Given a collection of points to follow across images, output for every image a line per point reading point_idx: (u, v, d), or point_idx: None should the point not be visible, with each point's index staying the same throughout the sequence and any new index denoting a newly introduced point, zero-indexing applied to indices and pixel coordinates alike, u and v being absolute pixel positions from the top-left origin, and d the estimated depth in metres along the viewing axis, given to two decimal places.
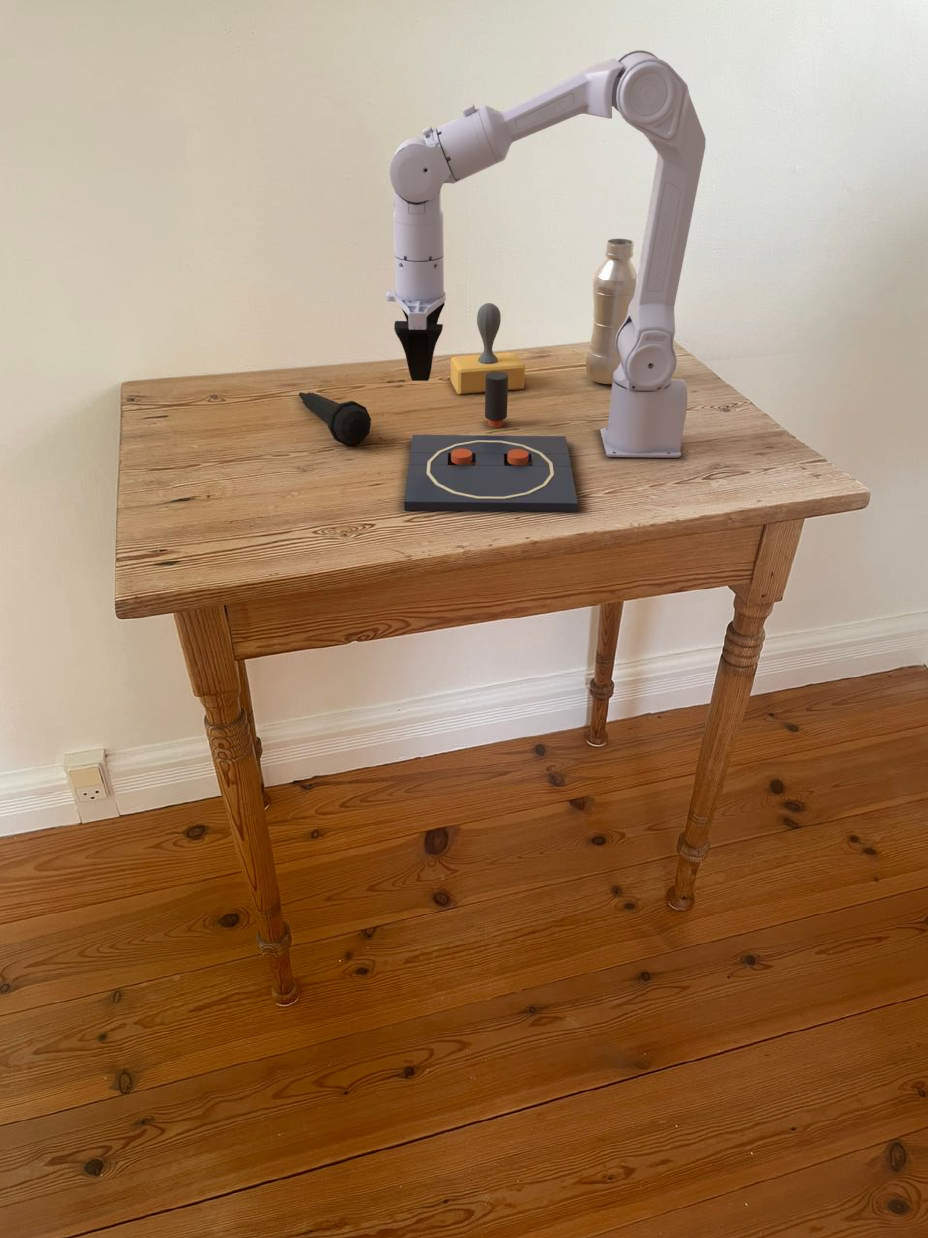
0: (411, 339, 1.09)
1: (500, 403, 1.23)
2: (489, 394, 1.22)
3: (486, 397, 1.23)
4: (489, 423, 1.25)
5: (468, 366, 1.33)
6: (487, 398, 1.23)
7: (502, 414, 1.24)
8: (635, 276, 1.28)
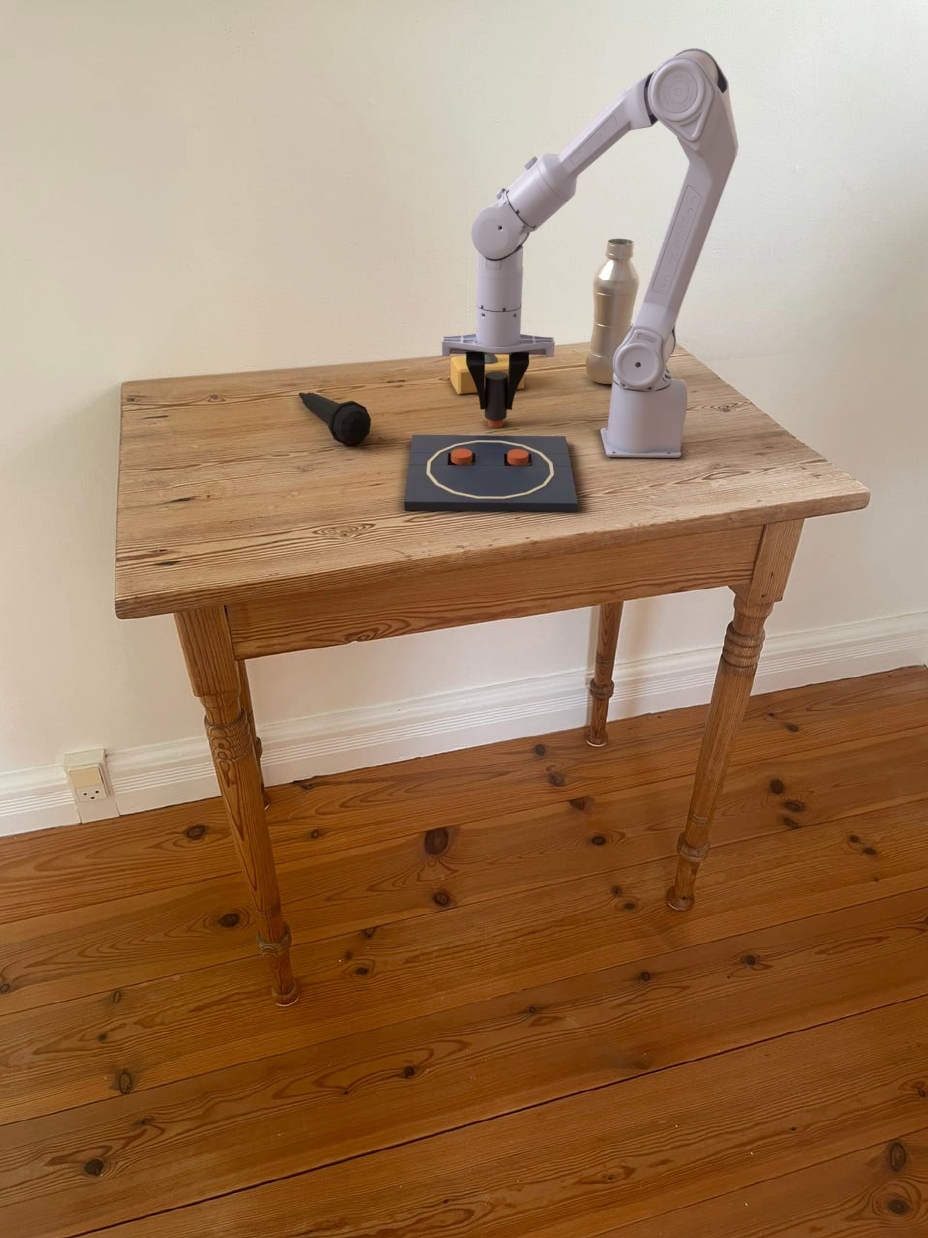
0: None
1: (500, 403, 1.23)
2: (489, 394, 1.22)
3: (486, 397, 1.23)
4: (489, 423, 1.25)
5: None
6: (487, 398, 1.23)
7: (502, 414, 1.24)
8: (635, 276, 1.28)
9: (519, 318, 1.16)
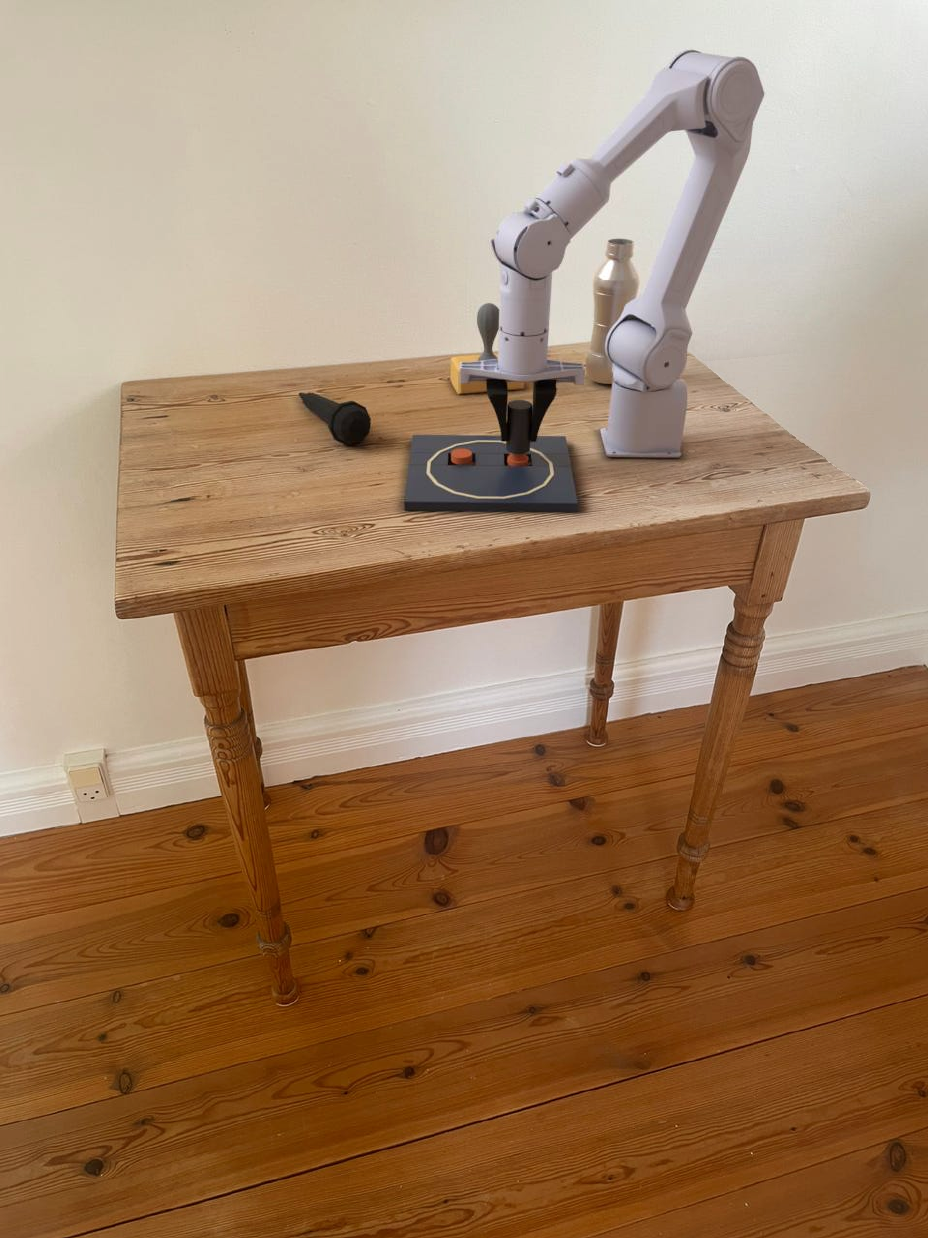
0: None
1: (524, 435, 1.11)
2: (511, 426, 1.11)
3: (508, 428, 1.11)
4: (511, 456, 1.14)
5: None
6: (509, 429, 1.11)
7: (525, 447, 1.12)
8: (635, 276, 1.28)
9: (546, 343, 1.05)
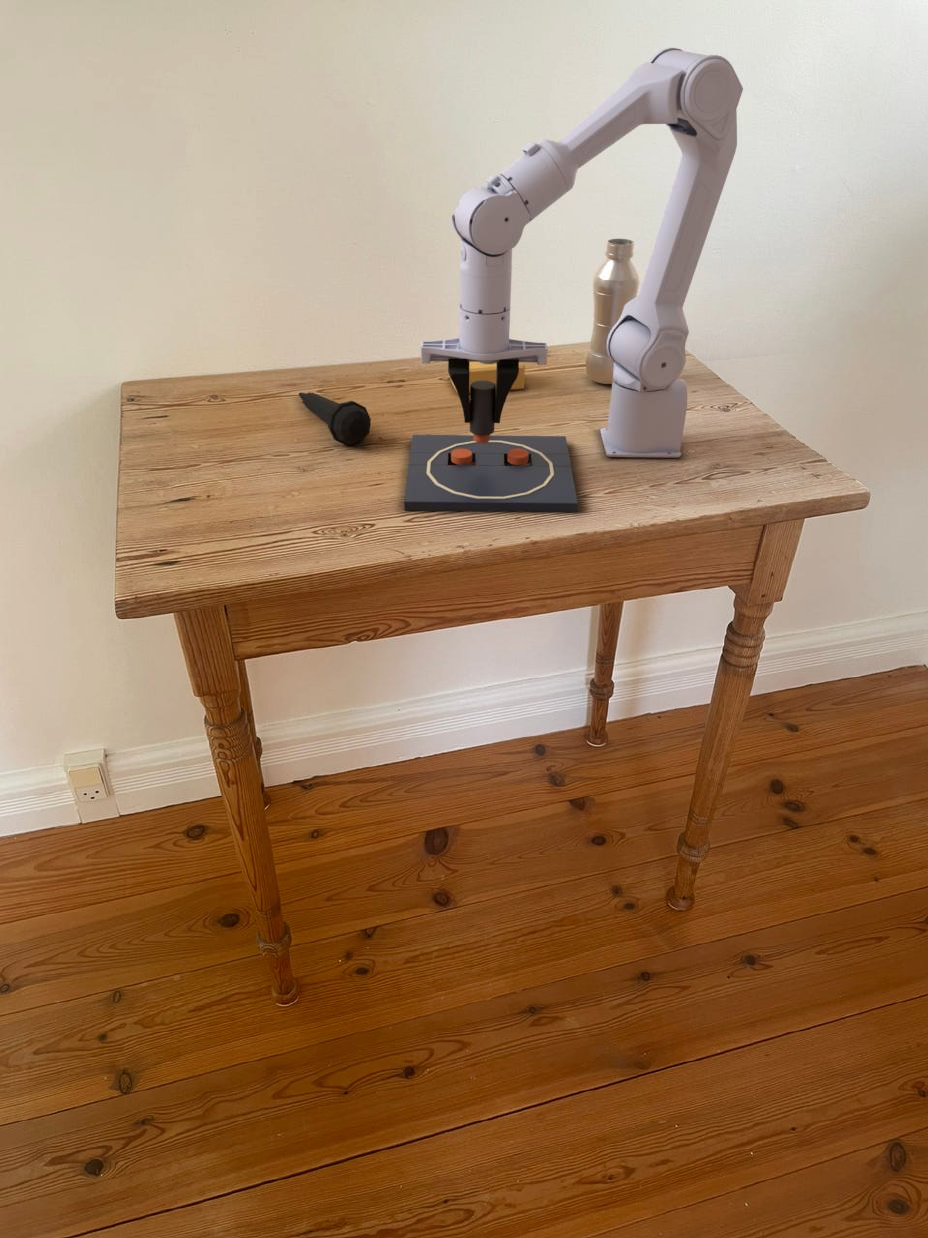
0: None
1: (487, 416, 1.10)
2: (474, 406, 1.09)
3: (471, 409, 1.10)
4: (475, 438, 1.12)
5: None
6: (472, 410, 1.10)
7: (489, 428, 1.11)
8: (635, 276, 1.28)
9: (507, 321, 1.03)
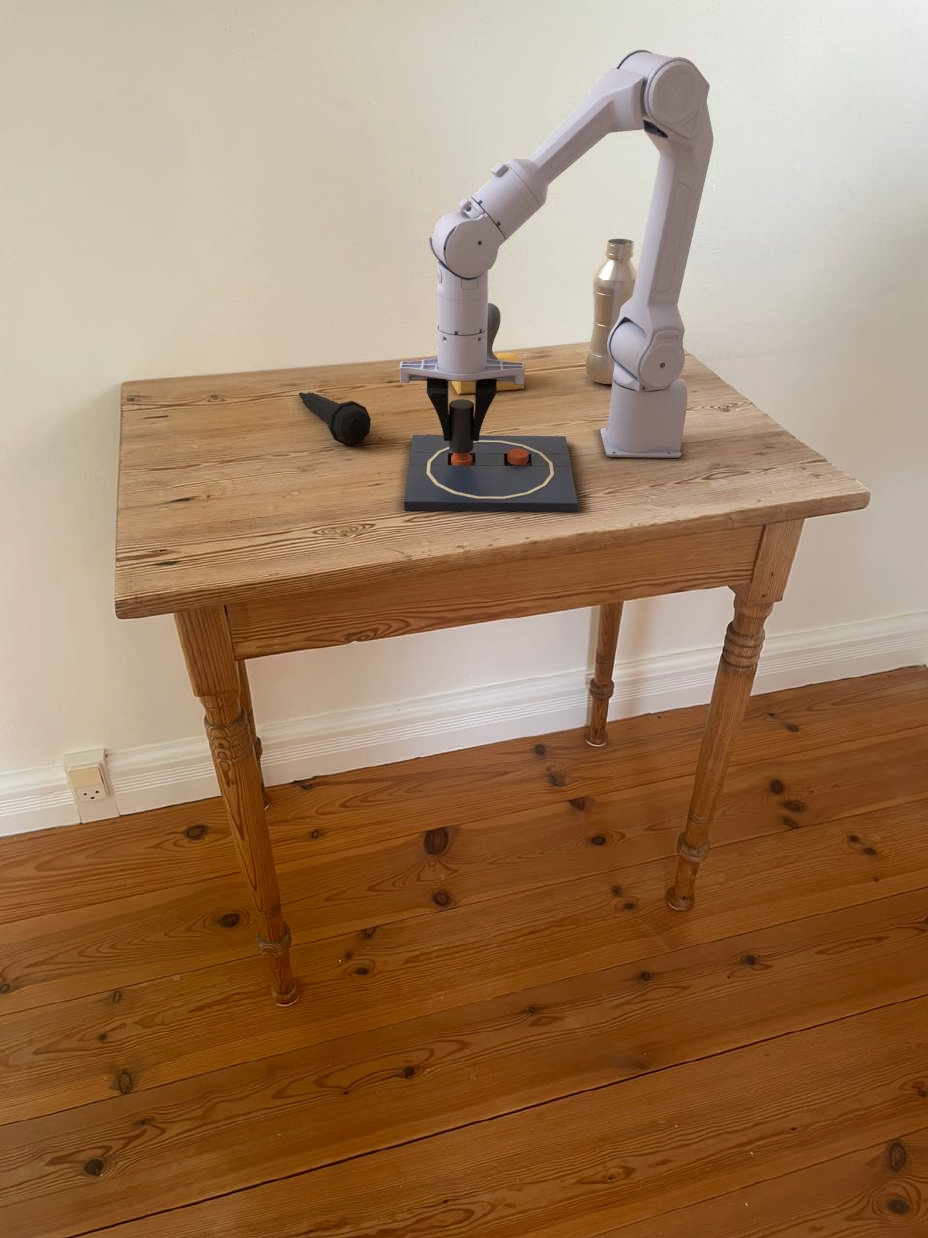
0: None
1: (466, 435, 1.11)
2: (453, 425, 1.11)
3: (450, 428, 1.11)
4: (454, 455, 1.14)
5: None
6: (451, 429, 1.11)
7: (468, 446, 1.12)
8: (635, 276, 1.28)
9: (484, 342, 1.05)
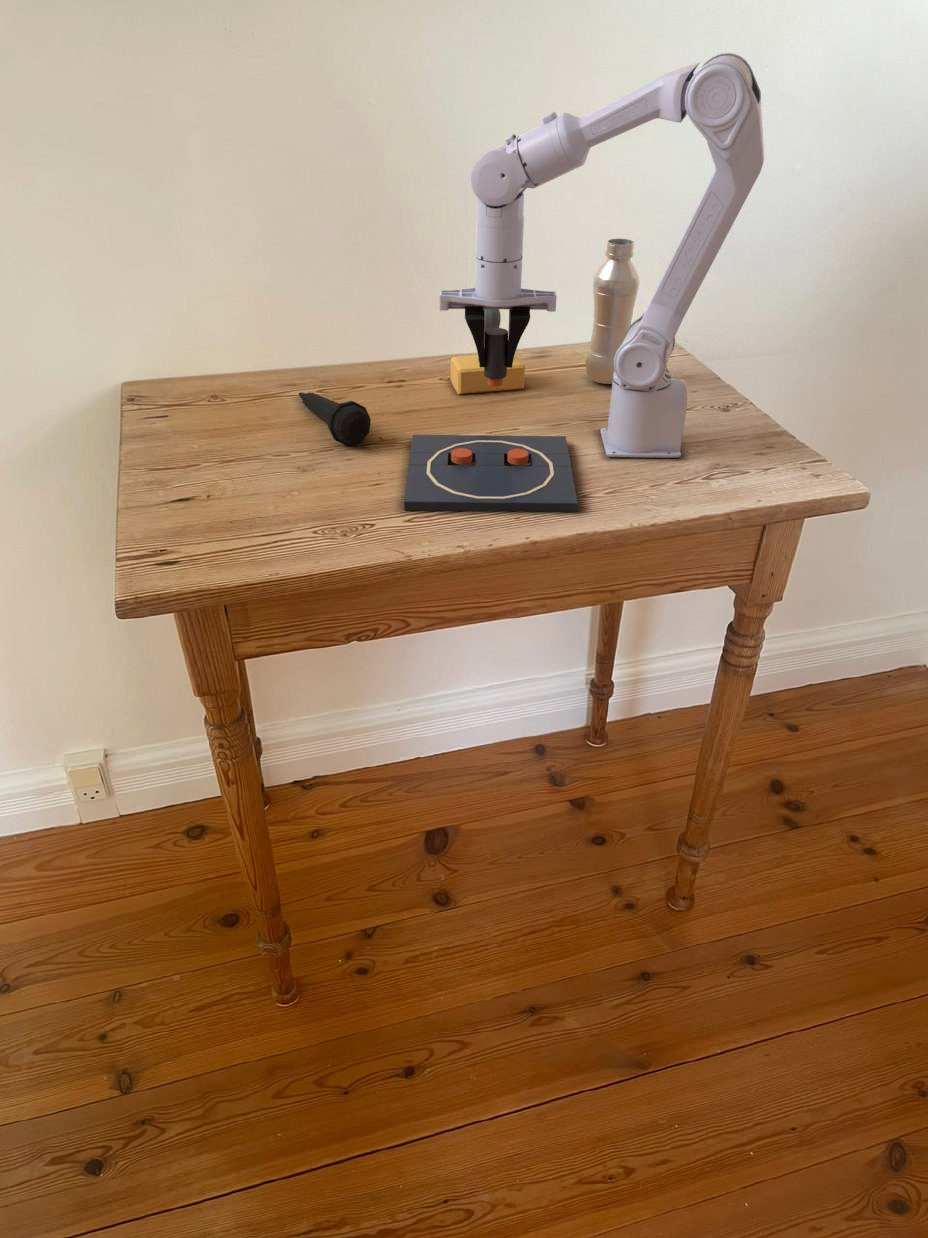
0: None
1: (500, 361, 1.19)
2: (488, 351, 1.18)
3: (485, 354, 1.19)
4: (489, 382, 1.21)
5: (468, 366, 1.33)
6: (486, 355, 1.19)
7: (502, 372, 1.20)
8: (635, 276, 1.28)
9: (520, 270, 1.12)
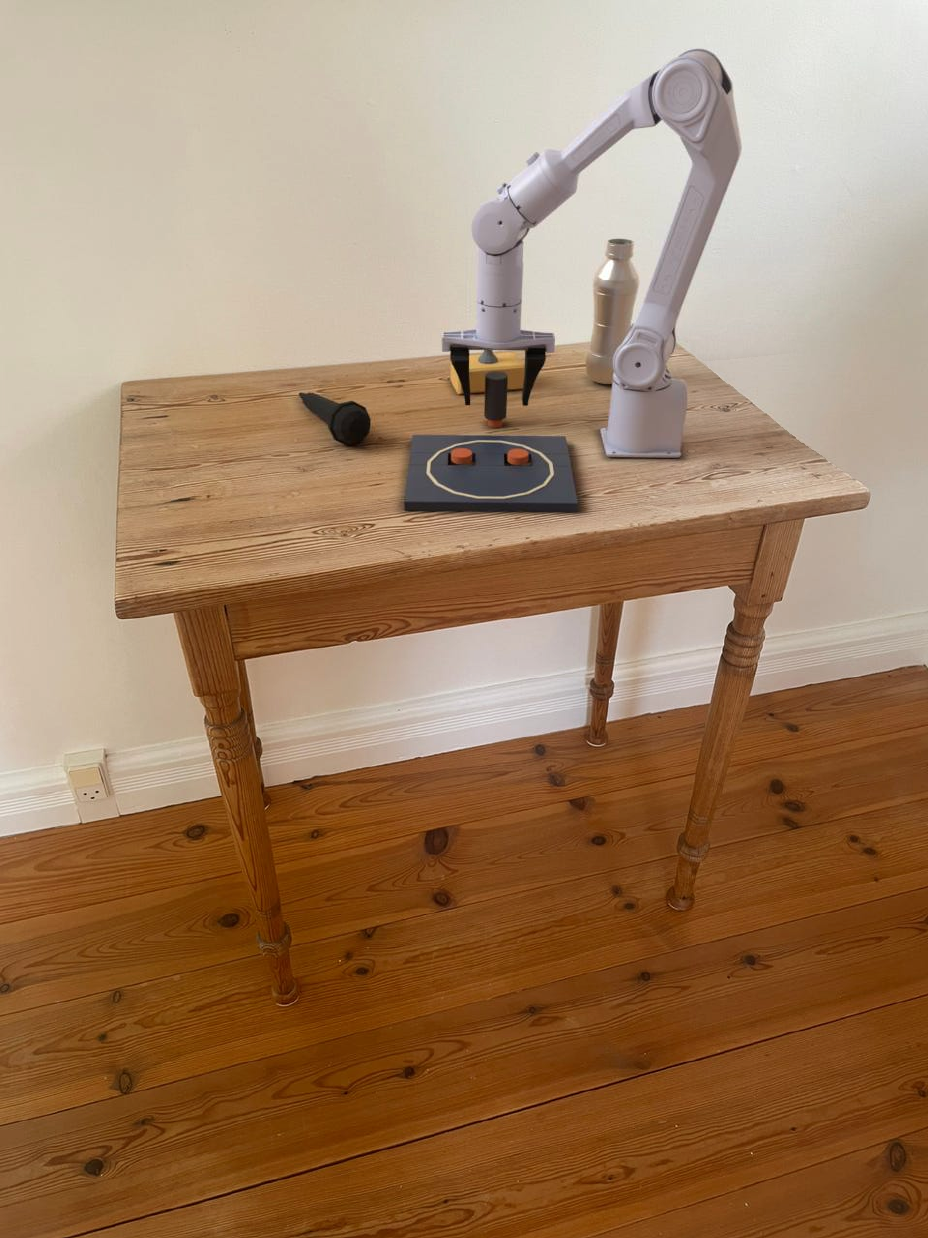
0: None
1: (500, 403, 1.23)
2: (488, 394, 1.22)
3: (485, 397, 1.23)
4: (489, 423, 1.25)
5: None
6: (486, 398, 1.23)
7: (501, 414, 1.24)
8: (635, 276, 1.28)
9: (519, 313, 1.16)
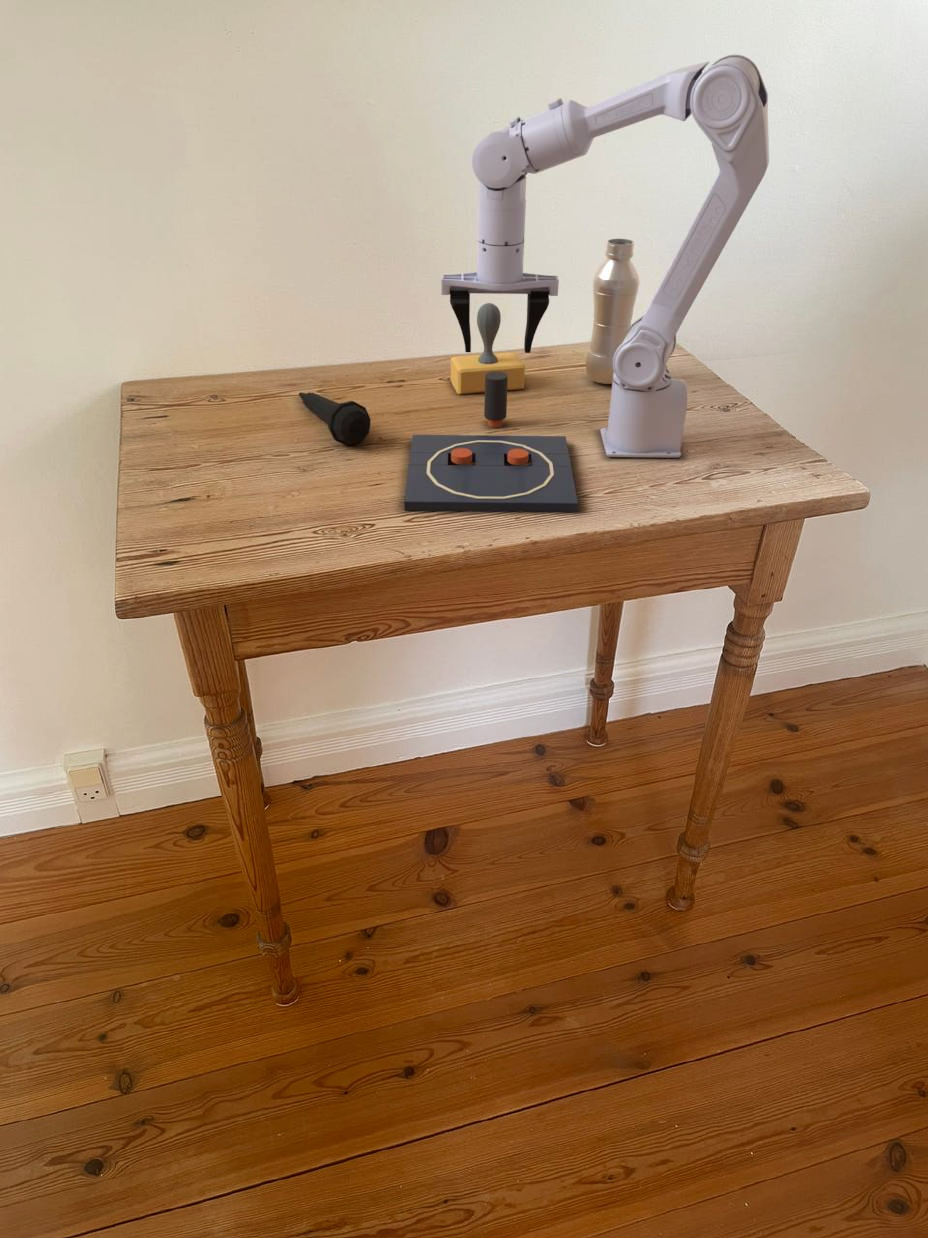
0: None
1: (500, 403, 1.23)
2: (488, 394, 1.22)
3: (485, 397, 1.23)
4: (489, 423, 1.25)
5: (468, 366, 1.33)
6: (486, 398, 1.23)
7: (501, 414, 1.24)
8: (635, 276, 1.28)
9: (522, 254, 1.12)
